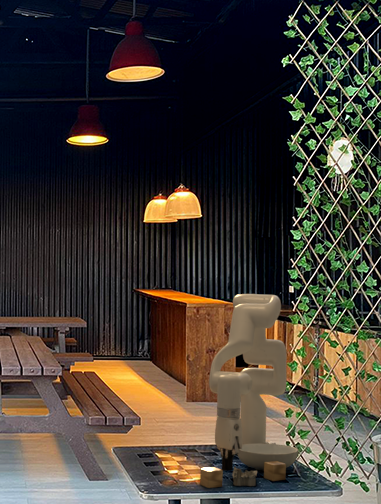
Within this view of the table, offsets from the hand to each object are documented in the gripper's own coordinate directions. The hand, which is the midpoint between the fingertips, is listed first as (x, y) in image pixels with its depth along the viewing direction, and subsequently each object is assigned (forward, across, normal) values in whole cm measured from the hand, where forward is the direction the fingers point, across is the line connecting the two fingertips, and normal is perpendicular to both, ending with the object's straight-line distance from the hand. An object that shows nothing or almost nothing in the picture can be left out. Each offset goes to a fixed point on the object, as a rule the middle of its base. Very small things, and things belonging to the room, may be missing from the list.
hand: (227, 470), depth 275 cm
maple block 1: (+2, -10, +12) cm, 16 cm away
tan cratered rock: (+2, -11, 0) cm, 11 cm away
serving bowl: (+2, +4, -19) cm, 19 cm away
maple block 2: (+2, -10, -12) cm, 15 cm away
